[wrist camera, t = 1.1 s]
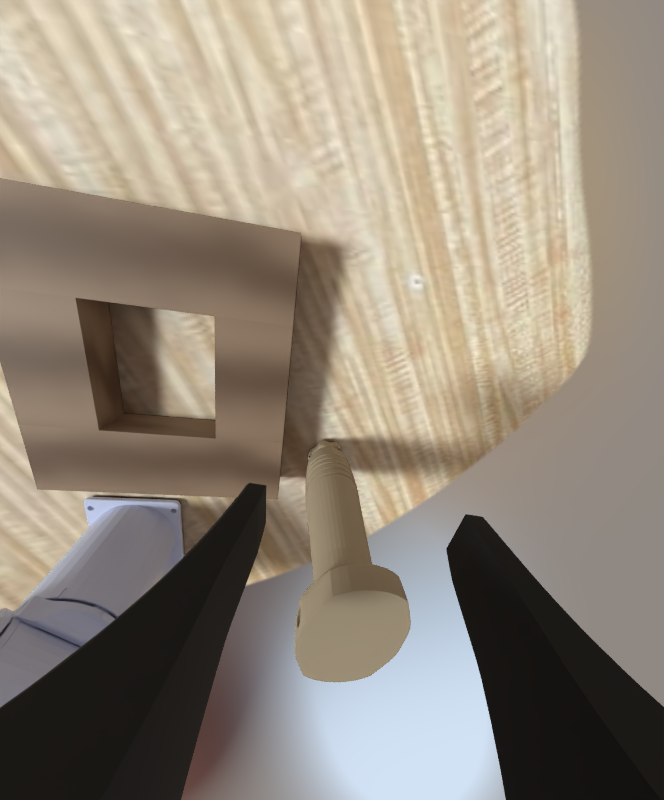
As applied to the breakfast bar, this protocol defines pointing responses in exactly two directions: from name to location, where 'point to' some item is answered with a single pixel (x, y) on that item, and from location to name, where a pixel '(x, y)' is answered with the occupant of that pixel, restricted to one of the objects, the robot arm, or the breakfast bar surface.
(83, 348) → the socket plate
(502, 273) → the breakfast bar surface
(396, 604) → the handle
